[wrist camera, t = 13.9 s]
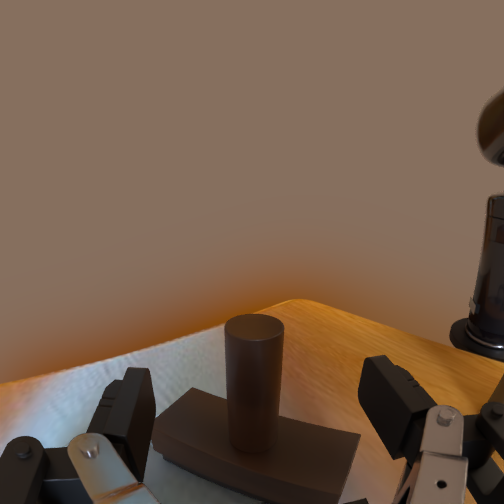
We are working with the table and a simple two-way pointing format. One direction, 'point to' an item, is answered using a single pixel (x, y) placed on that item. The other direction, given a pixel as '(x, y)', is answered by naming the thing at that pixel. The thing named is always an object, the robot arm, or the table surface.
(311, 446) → the stamp
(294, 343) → the table surface
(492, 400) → the cork
